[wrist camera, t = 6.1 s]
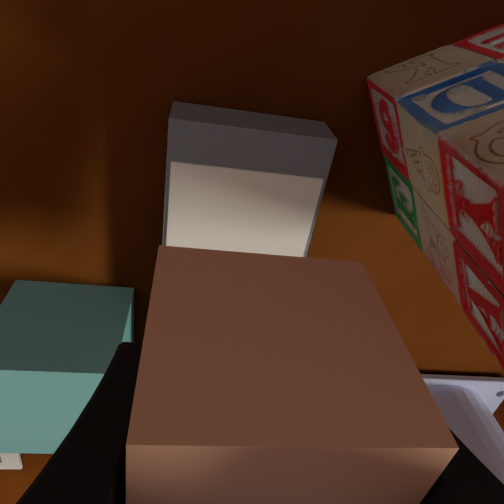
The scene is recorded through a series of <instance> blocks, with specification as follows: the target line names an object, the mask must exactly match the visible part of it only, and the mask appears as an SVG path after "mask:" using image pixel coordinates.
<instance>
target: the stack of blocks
mask: <svg viewBox="0 0 504 504" xmlns="http://www.w3.org/2000/svg"><path fill="white" fill-rule="evenodd" d="M367 85H368V89H369V94H370V99H371V104H372V109H373V114H374V118H375V123H376V128H377V132H378V137H379V141H380V147H381V151H382V152H383V155H384V159H385V165H386V170H387V175H388V180H389V185H390V190H391V195H392V200H393V205H394V211H395V214H396V216H397V218H398V219H399V221H400V222H401V224H402V225H403V227H404V228H405V229H406V231H407V232H408V233H409V235H410V236H411V238H412V239H413V240H414V241H415V243H416V244H417V246H418V247H419V249H420V250H421V251H422V252H424V254H425V255H426V257H427V258H428V260H429V261H430V263H431V264H432V266H433V267H434V269H435V270H436V272H437V273H438V275H439V276H440V277H441V279H442V280H443V282H444V283H445V285H446V286H447V288H448V289H449V290H450V292H451V293H452V295H453V296H454V297H455V299H456V300H457V302H458V303H459V304H460V305H461V306H462V308H463V311H464V313H465V315H466V316H467V318H468V319H469V321H470V322H471V324H472V325H473V327H474V328H475V330H476V331H477V332H478V334H479V335H480V336H481V337H482V338H483V340H484V341H485V343H486V344H487V346H488V348H489V349H490V351H491V352H492V354H493V355H494V356H495V357H497V359H498V361H499V362H500V364H501V366H502V368H503V369H504V23H503V24H500V25H498V26H495V27H493V28H490V29H487V30H485V31H482V32H480V33H477V34H475V35H472V36H470V37H467V38H465V39H462V40H460V41H457V42H454V43H452V44H450V45H446V46H442V47H440V48H437V49H435V50H432V51H429V52H427V53H424V54H422V55H419V56H416V57H414V58H411V59H409V60H406V61H404V62H401V63H399V64H396V65H394V66H391V67H388V68H386V69H383V70H381V71H378V72H376V73H373V74H371V75H370V76H368V77H367Z"/></svg>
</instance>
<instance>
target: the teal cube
mask: <svg viewBox="0 0 504 504" xmlns="http://www.w3.org/2000/svg"><path fill="white" fill-rule="evenodd" d="M122 342H134V288H128V287H113V286H99V285H84V284H69V283H55V282H40V281H26V280H15V282H14V284H13V285H12V287H11V289H10V290H9V292H8V294H7V295H6V297H5V299H4V300H3V302H2V304H1V305H0V453H41V454H54V452H55V451H56V450H57V448H58V447H59V445H60V444H61V443H62V441H63V440H64V438H65V437H66V435H67V434H68V433H69V431H70V430H71V428H72V427H73V425H74V424H75V422H76V420H77V419H78V417H79V416H80V414H81V412H82V411H83V409H84V408H85V406H86V405H87V403H88V401H89V400H90V398H91V397H92V395H93V393H94V392H95V390H96V388H97V386H98V385H99V383H100V381H101V379H102V378H103V376H104V374H105V372H106V370H107V368H108V366H109V364H110V362H111V360H112V358H113V356H114V354H115V352H116V349H117V347H118V345H119V344H121V343H122Z"/></svg>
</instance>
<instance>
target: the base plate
mask: <svg viewBox="0 0 504 504" xmlns="http://www.w3.org/2000/svg"><path fill="white" fill-rule="evenodd" d="M337 141H338V140H337V138H336V137H335V136H334V134H333V133H332V132H331V130H330V129H329V127H328V126H327V125H326V123H325V122H323V121H316V120H309V119H301V118H294V117H287V116H280V115H272V114H265V113H258V112H251V111H243V110H236V109H229V108H221V107H214V106H207V105H200V104H192V103H185V102H178V101H173V103H172V107H171V111H170V115H169V122H168V141H167V160H166V179H165V198H164V218H163V237H162V245H163V246H175V247H187V248H199V249H211V250H223V251H235V252H247V253H259V254H271V255H283V256H295V257H306V254H307V251H308V247H309V243H310V240H311V236H312V233H313V229H314V225H315V222H316V218H317V214H318V211H319V207H320V203H321V200H322V196H323V192H324V189H325V185H326V181H327V178H328V174H329V170H330V167H331V163H332V159H333V156H334V152H335V148H336V145H337Z"/></svg>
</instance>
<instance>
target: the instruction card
mask: <svg viewBox="0 0 504 504" xmlns="http://www.w3.org/2000/svg"><path fill="white" fill-rule="evenodd" d="M22 467H23V466H22V462H21V457H20V453H0V469H22Z"/></svg>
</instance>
